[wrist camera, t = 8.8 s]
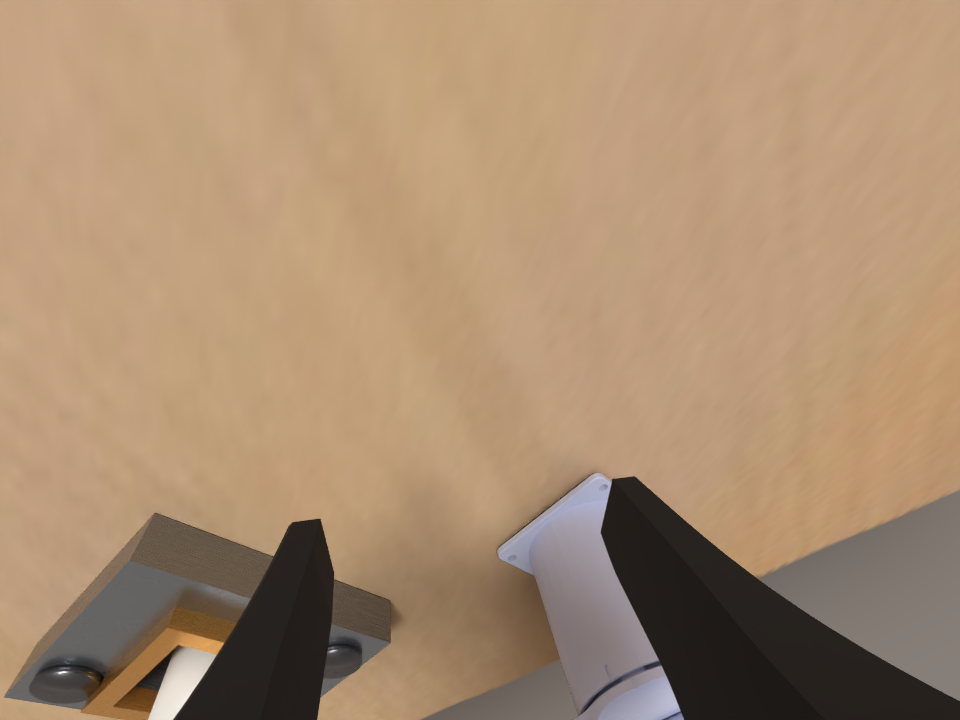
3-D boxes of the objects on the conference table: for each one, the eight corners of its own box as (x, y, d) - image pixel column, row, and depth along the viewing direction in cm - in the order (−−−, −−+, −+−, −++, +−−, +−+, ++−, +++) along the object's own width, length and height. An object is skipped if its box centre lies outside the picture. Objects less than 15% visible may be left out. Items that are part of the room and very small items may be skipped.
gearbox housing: (390, 600, 28) (390, 661, 25) (275, 694, 31) (263, 758, 28) (154, 513, 21) (117, 582, 18) (37, 643, 24) (-12, 721, 21)
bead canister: (278, 610, 26) (250, 751, 21) (237, 644, 27) (200, 788, 22) (213, 588, 24) (162, 737, 19) (171, 626, 25) (111, 778, 20)
